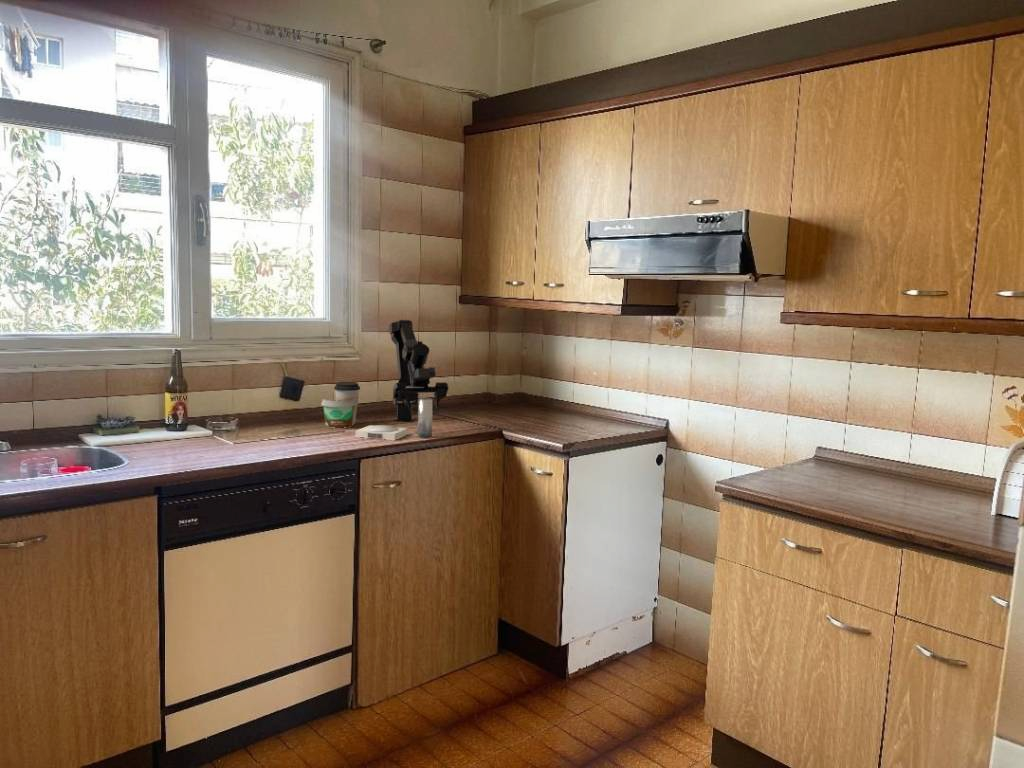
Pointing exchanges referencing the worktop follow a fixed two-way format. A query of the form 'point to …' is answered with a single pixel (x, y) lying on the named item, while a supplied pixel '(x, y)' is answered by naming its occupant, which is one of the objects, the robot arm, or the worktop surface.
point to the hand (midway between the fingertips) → (424, 409)
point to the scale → (381, 432)
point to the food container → (338, 413)
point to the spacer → (425, 417)
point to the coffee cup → (347, 393)
